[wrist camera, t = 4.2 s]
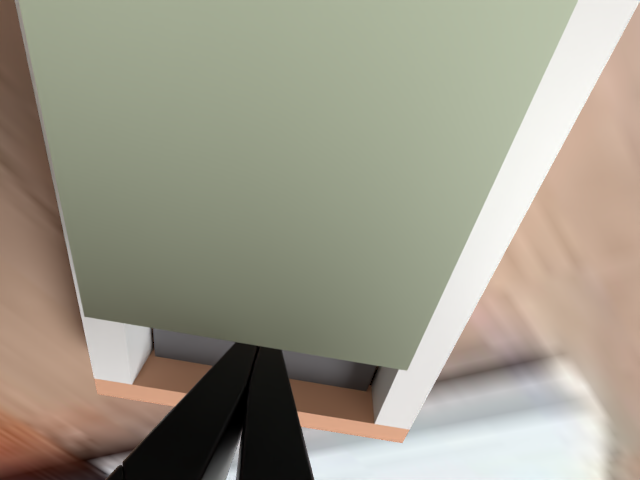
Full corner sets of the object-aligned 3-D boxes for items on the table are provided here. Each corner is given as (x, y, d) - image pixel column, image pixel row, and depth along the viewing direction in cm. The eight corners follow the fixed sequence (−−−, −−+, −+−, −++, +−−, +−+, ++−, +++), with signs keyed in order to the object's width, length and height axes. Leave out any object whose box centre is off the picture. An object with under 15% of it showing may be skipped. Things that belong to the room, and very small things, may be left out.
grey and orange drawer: (121, 358, 13) (97, 393, 12) (101, 220, 10) (66, 248, 9) (396, 403, 14) (402, 442, 12) (452, 285, 11) (468, 320, 9)
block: (198, 189, 10) (84, 316, 5) (200, -40, 7) (-14, -147, 3) (377, 223, 10) (407, 370, 6) (441, 13, 7) (583, -10, 3)
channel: (119, 342, 13) (94, 378, 11) (-60, -897, 4) (-283, -1410, 2) (402, 390, 13) (409, 429, 12) (868, -589, 4) (1109, -873, 3)
